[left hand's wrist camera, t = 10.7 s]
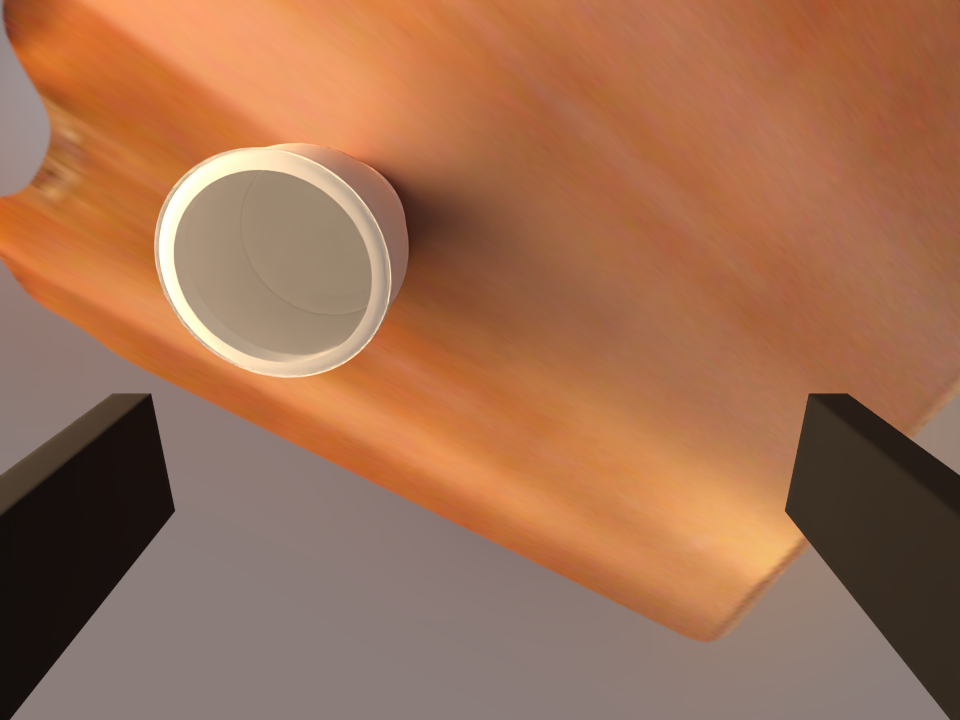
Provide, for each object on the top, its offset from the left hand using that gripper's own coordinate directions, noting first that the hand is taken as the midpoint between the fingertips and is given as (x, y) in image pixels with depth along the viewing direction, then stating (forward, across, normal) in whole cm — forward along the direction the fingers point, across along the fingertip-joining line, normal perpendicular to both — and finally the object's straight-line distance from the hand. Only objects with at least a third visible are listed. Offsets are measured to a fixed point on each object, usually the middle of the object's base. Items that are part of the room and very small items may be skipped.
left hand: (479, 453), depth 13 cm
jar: (+31, +9, 0) cm, 32 cm away
